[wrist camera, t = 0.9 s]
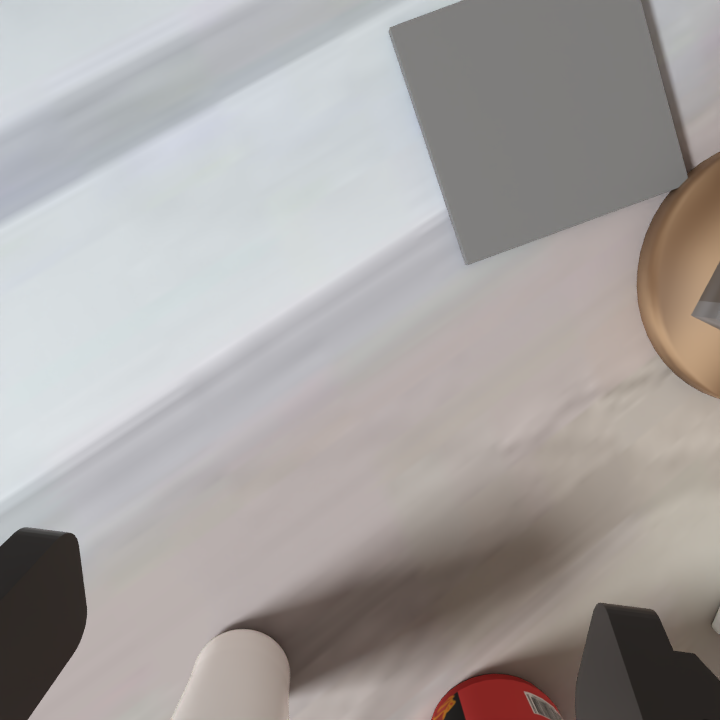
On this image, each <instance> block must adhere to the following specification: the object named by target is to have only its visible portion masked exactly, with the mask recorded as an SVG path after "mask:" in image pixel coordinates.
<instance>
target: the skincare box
mask: <svg viewBox="0 0 720 720" xmlns="http://www.w3.org/2000/svg"><path fill="white" fill-rule="evenodd" d="M712 628H713V629H714V630H715V631H716V632H717V633H718V634H719V635H720V607H719V610H718V612H717V614H716V617H715V619H714V621H713V623H712Z"/></svg>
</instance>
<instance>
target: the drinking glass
mask: <svg viewBox="0 0 720 720" xmlns="http://www.w3.org/2000/svg"><path fill="white" fill-rule="evenodd" d="M289 688H290V667H289V662H288V659H287V657H286V654H285V653H284V651H283V649H282V648H281V647H280V645H279V644H278V643H277V642H276V641H275V640H273V639H272V638H271V637H269V636H268V635H266V634H264V633H261V632H259V631H255V630H250V629H236V630H231V631H227V632H224V633H222V634H220V635H218V636H216V637H215V638H213V639H212V640H211V641H210V642H208V643H207V644H206V646H205V647H204V648H203V649H202V650H201V652H200V654H199V655H198V657H197V659H196V662H195V664H194V667H193V670H192V673H191V676H190V679H189V681H188V683H187V685H186V688H185V690H184V692H183V694H182V696H181V698H180V700H179V703H178V705H177V707H176V709H175V711H174V713H173V715H172V717H171V719H170V720H289Z"/></svg>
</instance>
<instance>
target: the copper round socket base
mask: <svg viewBox="0 0 720 720" xmlns="http://www.w3.org/2000/svg"><path fill="white" fill-rule="evenodd" d="M687 176H688V178H687V179H686V180H685V181H684V182H683V183H682V184H681V185H680V187H679V188H676V189H674V190H671V191H670V193H669V194H668V195H667V197H666V198H665V199H664V201H663V202H662V204H661V205H660V207H659V209H658V210H657V212H656V214H655V215H654V217H653V219H652V221H651V224H650V226H649V228H648V230H647V233H646V235H645V239H644V242H643V245H642V249H641V252H640V258H639V264H638V271H637V294H638V305H639V309H640V314H641V318H642V322H643V325H644V327H645V330H646V333H647V336H648V337H649V339H650V341H651V343H652V345H653V347H654V349H655V351H656V352H657V353H658V355H659V356H660V357H661V359H662V360H663V362H664V363H665V364H666V365H667V366H668V367H669V368H670V369H671V370H672V371H673V372H674V373H675V374H676V375H677V376H678V377H679V378H681V379H682V380H683V381H685V382H686V383H687V384H689V385H690V386H692V387H694V388H696V389H697V390H699V391H701V392H703V393H705V394H708V395H710V396H713V397H715V398H718V399H720V152H719V153H716V154H715V155H713V156H711V157H710V158H708V159H707V160H705V161H703V162H702V163H700V164H699V165H698V166H696V167H695V168H694V169H693V170H691V171H690V172H689V173H688V174H687Z"/></svg>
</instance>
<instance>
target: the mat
mask: <svg viewBox="0 0 720 720" xmlns="http://www.w3.org/2000/svg"><path fill="white" fill-rule="evenodd" d="M389 34H390V37H391V40H392V43H393V46H394V49H395V52H396V55H397V59H398V62H399V65H400V68H401V71H402V74H403V77H404V80H405V83H406V86H407V89H408V92H409V95H410V98H411V101H412V104H413V107H414V110H415V113H416V116H417V119H418V122H419V125H420V128H421V131H422V134H423V137H424V140H425V143H426V146H427V149H428V152H429V155H430V158H431V161H432V164H433V167H434V170H435V173H436V177H437V180H438V183H439V186H440V189H441V192H442V195H443V198H444V201H445V204H446V207H447V210H448V213H449V216H450V219H451V222H452V225H453V228H454V231H455V234H456V237H457V240H458V243H459V246H460V249H461V252H462V255H463V258H464V261H465V264H466V265H469V264H472V263H474V262H477V261H480V260H483V259H485V258H488V257H491V256H494V255H496V254H499V253H502V252H504V251H507V250H510V249H513V248H515V247H518V246H521V245H524V244H526V243H529V242H532V241H534V240H537V239H540V238H543V237H545V236H548V235H551V234H554V233H556V232H559V231H562V230H564V229H567V228H570V227H573V226H575V225H578V224H581V223H584V222H586V221H589V220H592V219H594V218H597V217H600V216H603V215H605V214H608V213H611V212H614V211H616V210H619V209H622V208H625V207H627V206H630V205H633V204H635V203H638V202H641V201H644V200H646V199H649V198H652V197H655V196H657V195H660V194H663V193H665V192H668V191H671V190H674V189H676V188H679V187H680V185H681V184H682V183H683V182H684V181H685V180H686V179H687V178H688V176H687V172H686V168H685V164H684V161H683V157H682V153H681V149H680V146H679V142H678V138H677V134H676V131H675V127H674V123H673V119H672V116H671V112H670V108H669V104H668V101H667V97H666V93H665V89H664V86H663V82H662V78H661V74H660V71H659V67H658V63H657V59H656V56H655V52H654V48H653V44H652V41H651V37H650V33H649V29H648V26H647V22H646V18H645V14H644V11H643V7H642V3H641V0H463V1H461V2H458V3H455V4H452V5H450V6H447V7H444V8H442V9H439V10H436V11H433V12H431V13H428V14H425V15H423V16H420V17H417V18H414V19H412V20H409V21H406V22H404V23H401V24H398V25H396V26H393V27H390V29H389Z"/></svg>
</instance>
